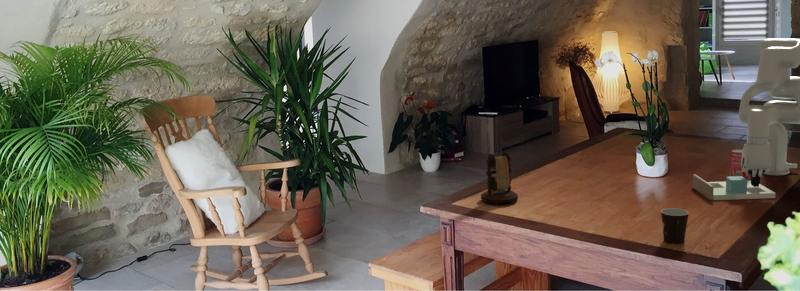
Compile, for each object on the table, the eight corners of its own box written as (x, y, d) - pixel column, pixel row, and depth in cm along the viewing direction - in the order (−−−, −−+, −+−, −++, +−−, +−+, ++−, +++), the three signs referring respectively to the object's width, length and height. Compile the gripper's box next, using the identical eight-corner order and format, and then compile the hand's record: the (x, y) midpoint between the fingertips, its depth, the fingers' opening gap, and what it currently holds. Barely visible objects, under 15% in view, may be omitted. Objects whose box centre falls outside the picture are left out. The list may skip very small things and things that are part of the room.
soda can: (749, 182, 333) (750, 152, 330) (731, 182, 334) (732, 152, 331) (745, 178, 339) (747, 149, 337) (727, 178, 341) (729, 149, 338)
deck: (753, 185, 329) (754, 172, 328) (775, 198, 309) (776, 184, 308) (692, 187, 329) (693, 174, 328) (710, 200, 310) (711, 186, 309)
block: (741, 189, 315) (741, 176, 314) (746, 193, 310) (747, 179, 309) (725, 189, 316) (726, 176, 315) (730, 193, 310) (731, 180, 309)
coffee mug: (664, 235, 270) (665, 207, 268) (690, 239, 266) (691, 210, 264) (654, 245, 261) (654, 215, 259) (680, 249, 256) (681, 219, 254)
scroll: (494, 208, 311) (493, 158, 307) (474, 200, 323) (473, 152, 319) (525, 202, 317) (525, 153, 313) (504, 194, 330) (503, 147, 326)
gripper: (772, 137, 313) (769, 183, 317) (734, 139, 314) (732, 184, 317) (781, 141, 306) (778, 187, 310) (742, 142, 306) (739, 189, 310)
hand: (755, 185), depth 313 cm, fingers closed
